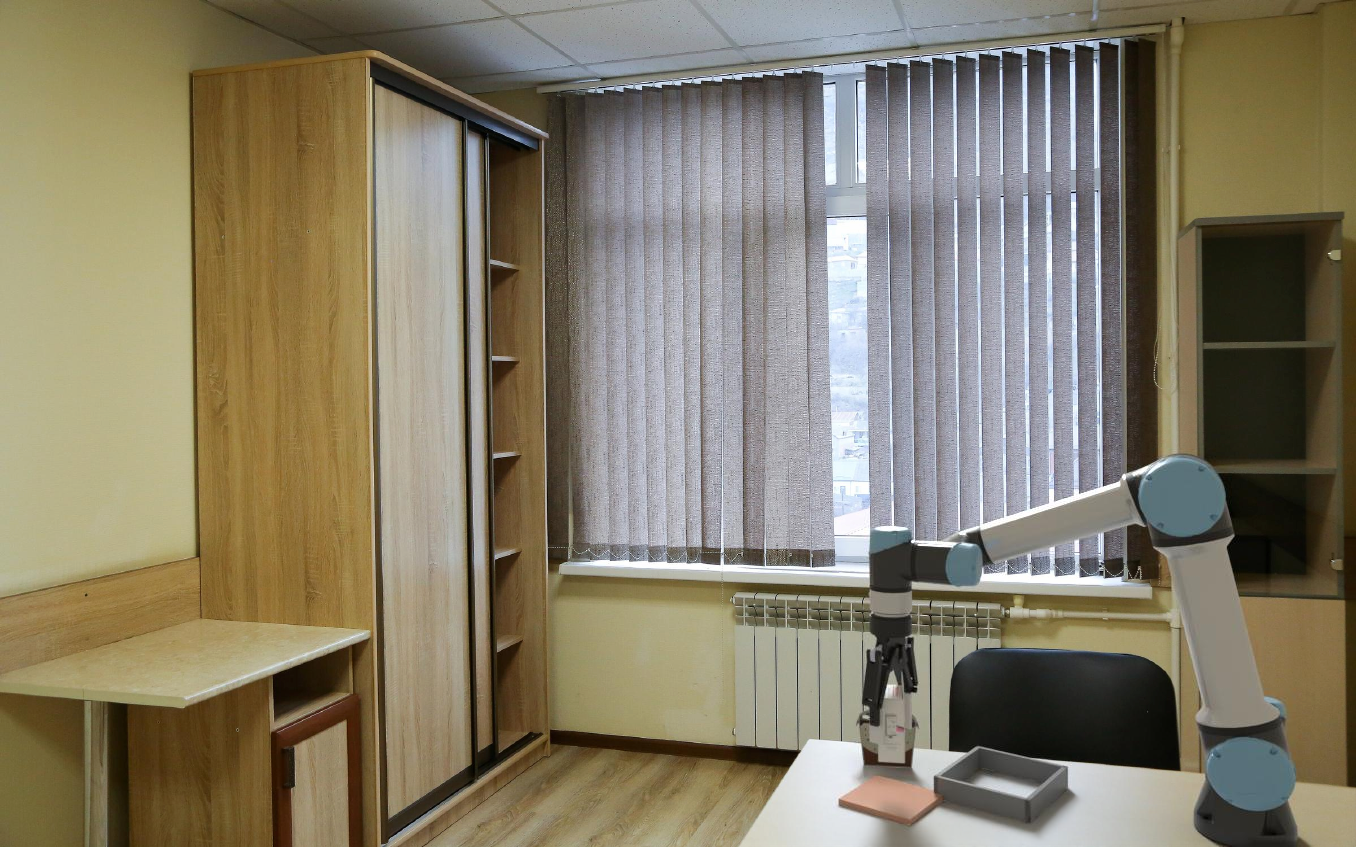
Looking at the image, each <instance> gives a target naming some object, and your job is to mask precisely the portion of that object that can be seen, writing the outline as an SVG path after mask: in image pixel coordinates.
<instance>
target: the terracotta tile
mask: <svg viewBox="0 0 1356 847" xmlns="http://www.w3.org/2000/svg"><path fill="white" fill-rule="evenodd" d="M942 801H943V802H944V800H943V795H942V794H938V793H934V789H930V788H926V787H922V786H919V785H914V784H911V783H907V782H903V781H900V780H896V779H893V778H888V777H884V776H880V775H876V774H875V775H873V777H871V778H869V779H867V780H866V781H864V782H862V784H860V785H858V786H857V787H855V788H854V789H852V790H850V791H849V792H846V793H845V794H844V795H842V796H840V797H839V798H838V805H839V806H842V807H846V808H849V809H853V810H856V811H860V812H863V813H867V814H870V815H874V816H877V817H880V818H884V819H886V820H889V821H890V820H891V821H895V822H897V823H901V824H904V825H907V826H910V825H912V824H913V823H915V822H916V821H917V820H919V819H920V818H921V817H923V816H924V815H925V814H927V813H928V812H929V811H930V810H932V809H933V808H935V807H936V806H937V805H939V804H940V803H941V802H942Z"/></svg>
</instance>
